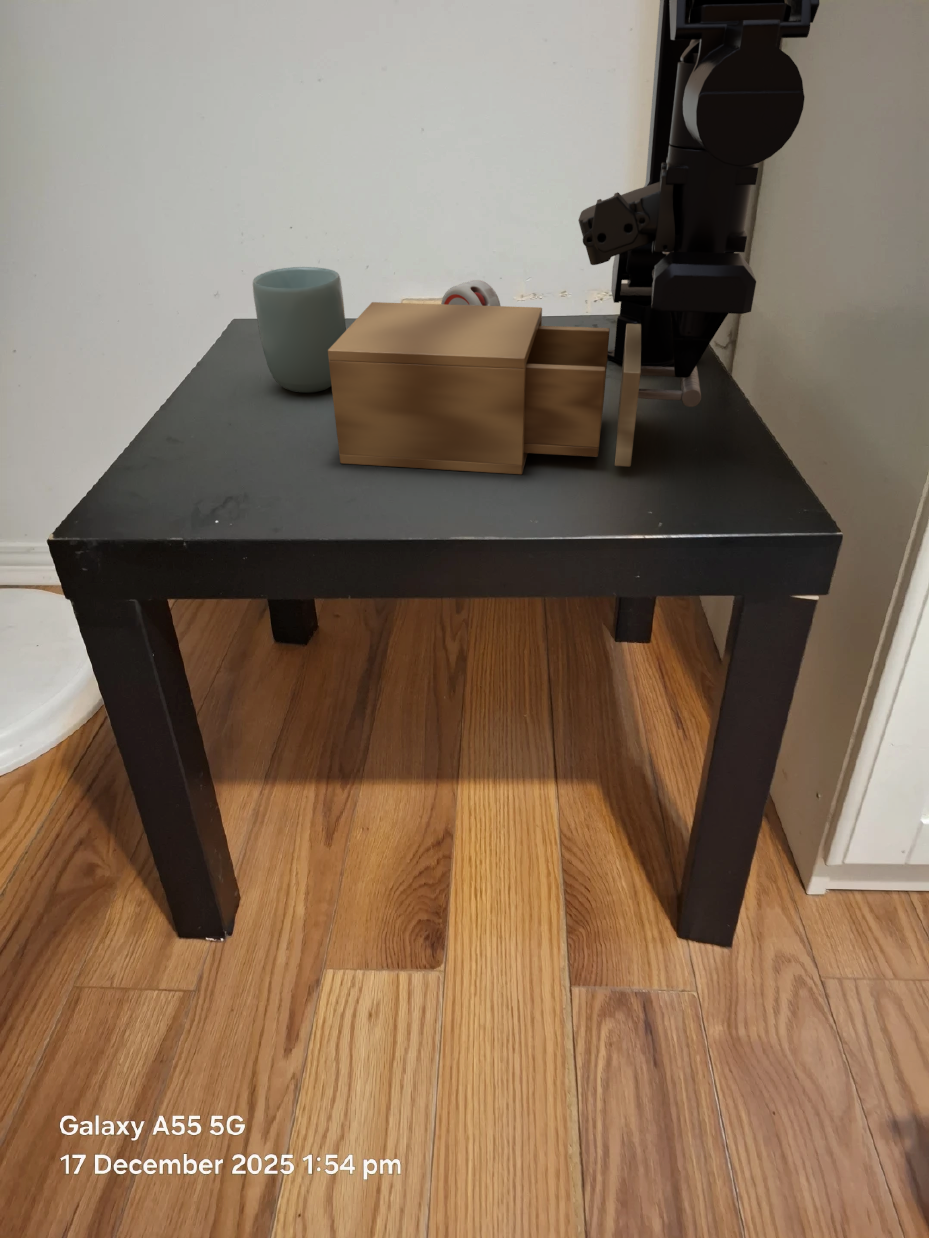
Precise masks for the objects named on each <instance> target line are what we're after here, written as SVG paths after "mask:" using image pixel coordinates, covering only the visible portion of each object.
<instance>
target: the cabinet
mask: <svg viewBox="0 0 929 1238" xmlns="http://www.w3.org/2000/svg"><path fill="white" fill-rule="evenodd" d="M542 317H543V308H542V307H541V306H540V307H539V306H535V307H534V306H507V305H505V306H504V305H500V306H477V305H445V304H440V303H413V302H412V303H411V302H409V303H408V302H381V301H379V302H377V301H372V302H370V304H369V305H368V306H367V307H366V308H365V309H364V310H363V311H362V312H361V314H360V315H358V316H357V318H356V319H355V320H354V321H353V322H352V323H351V324H350V325H349V326H348V328H346V331H345V332H344V333H343V334H342V335H341V336H340V338H339V339H338V340H337V341H336V342H335V343H334V344H333V345H332V346H331V347H330V348H329V350H328V357H329V367H330V376H331V385H332V386H331V392H332V401H333V409H334V419H335V428H336V435H337V436H336V437H337V445H338V455H339V463H340V464H343V465H344V464H347V465H363V466H379V467H394V468H395V467H397V468H411V469H424V470H425V469H429V470H441V471H443V470H444V471H460V472H474V473H490V474H491V473H492V474H493V473H494V474H507V475H523V472H524V469H525V465H526V461H527V457H528V453H524V417H525V379H526V366H525V365H526V362H527V359H528V356H529V353H530V350H531V347H532V344H533V341H534V338H535V335H536V332H537V329H538V326H543V318H542Z"/></svg>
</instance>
